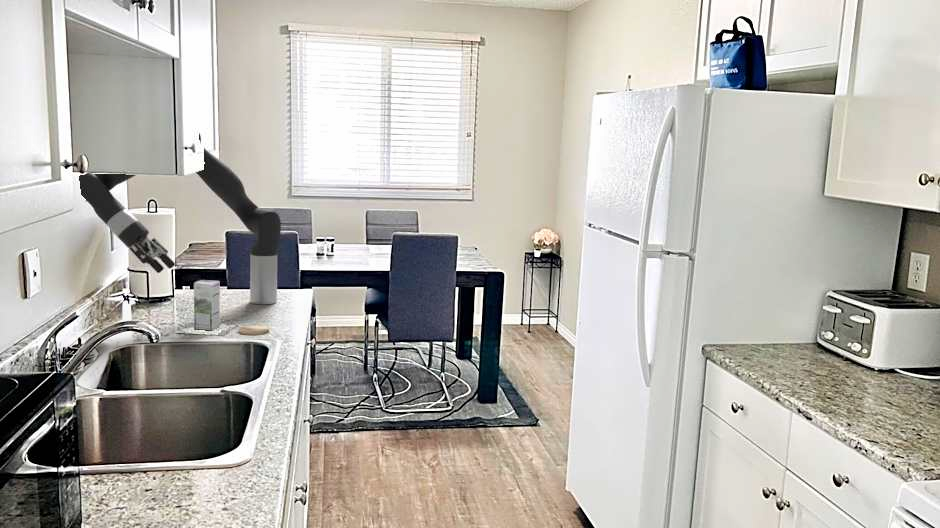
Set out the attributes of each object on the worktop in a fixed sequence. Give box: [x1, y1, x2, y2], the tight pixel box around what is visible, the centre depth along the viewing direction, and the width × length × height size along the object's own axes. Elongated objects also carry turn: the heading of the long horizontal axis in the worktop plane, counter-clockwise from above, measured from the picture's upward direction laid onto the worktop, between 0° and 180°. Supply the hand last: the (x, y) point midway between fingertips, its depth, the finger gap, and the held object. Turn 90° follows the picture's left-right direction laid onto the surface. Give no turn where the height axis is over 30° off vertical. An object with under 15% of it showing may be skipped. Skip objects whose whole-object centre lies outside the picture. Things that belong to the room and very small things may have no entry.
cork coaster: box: [237, 325, 270, 336], centre depth 221 cm, size 9×9×1 cm
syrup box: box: [193, 279, 221, 331], centre depth 220 cm, size 6×6×14 cm
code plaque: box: [185, 322, 235, 337], centre depth 221 cm, size 14×14×1 cm
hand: (167, 268), depth 218 cm, fingers open, 8 cm apart
